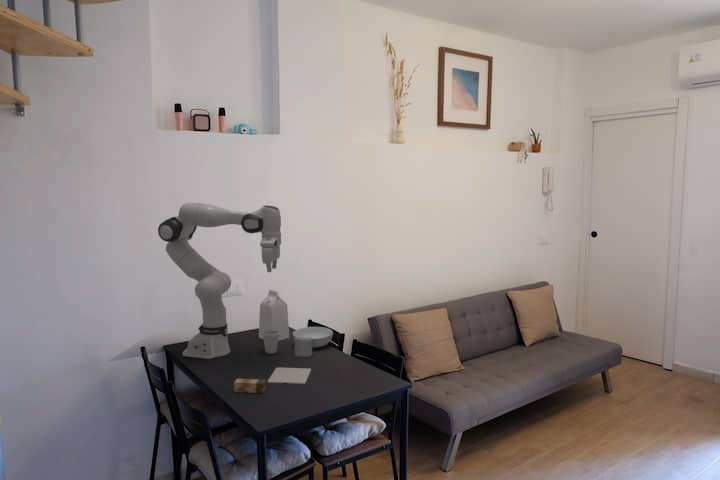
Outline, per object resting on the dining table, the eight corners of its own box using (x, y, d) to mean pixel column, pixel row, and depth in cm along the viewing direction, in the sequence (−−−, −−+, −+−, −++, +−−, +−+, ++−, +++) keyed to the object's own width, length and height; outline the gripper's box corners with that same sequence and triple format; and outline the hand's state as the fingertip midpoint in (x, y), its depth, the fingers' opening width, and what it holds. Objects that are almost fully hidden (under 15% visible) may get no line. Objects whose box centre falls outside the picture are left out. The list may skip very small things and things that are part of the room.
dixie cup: (271, 355, 239) (271, 335, 238) (259, 352, 243) (258, 332, 242) (283, 350, 246) (282, 331, 245) (270, 347, 250) (270, 328, 249)
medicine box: (312, 354, 241) (312, 337, 240) (310, 357, 237) (310, 340, 236) (296, 353, 242) (296, 336, 241) (294, 356, 238) (294, 339, 237)
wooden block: (234, 392, 197) (233, 382, 197) (237, 387, 201) (237, 378, 201) (263, 393, 197) (263, 383, 196) (266, 389, 201) (265, 379, 200)
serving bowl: (306, 336, 269) (306, 324, 268) (340, 342, 260) (340, 329, 259) (284, 347, 251) (284, 334, 250) (319, 354, 241) (319, 341, 241)
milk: (289, 337, 267) (289, 290, 264) (272, 342, 259) (271, 294, 256) (275, 332, 275) (275, 287, 272) (258, 337, 267) (258, 290, 264)
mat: (267, 382, 207) (267, 381, 206) (276, 368, 222) (276, 367, 222) (304, 384, 205) (304, 382, 205) (311, 369, 221) (311, 368, 221)
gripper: (270, 238, 237) (270, 266, 239) (259, 243, 217) (259, 274, 219) (283, 238, 237) (283, 266, 238) (273, 243, 217) (273, 274, 218)
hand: (271, 270), depth 228 cm, fingers open, 8 cm apart
